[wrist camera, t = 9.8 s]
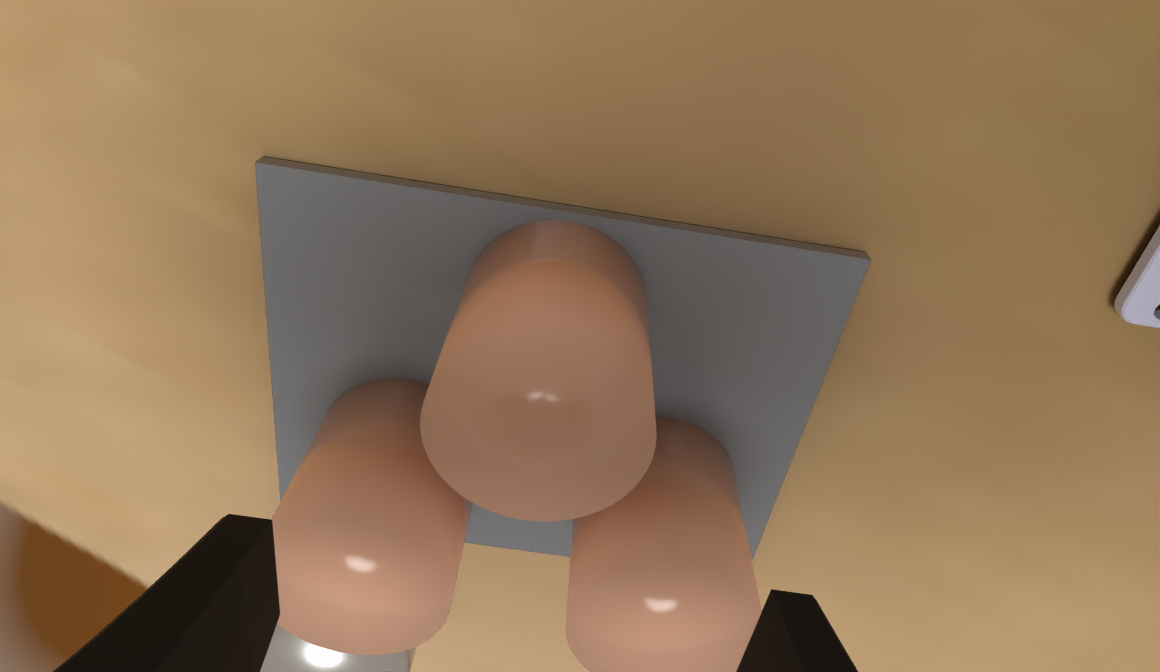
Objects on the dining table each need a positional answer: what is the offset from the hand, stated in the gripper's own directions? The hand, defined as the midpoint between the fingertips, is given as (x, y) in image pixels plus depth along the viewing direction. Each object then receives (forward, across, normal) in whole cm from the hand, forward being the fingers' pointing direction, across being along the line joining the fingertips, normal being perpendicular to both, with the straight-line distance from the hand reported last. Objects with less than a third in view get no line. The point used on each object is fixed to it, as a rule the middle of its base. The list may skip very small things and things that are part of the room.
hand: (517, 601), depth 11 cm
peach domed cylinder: (+9, +4, +5) cm, 11 cm away
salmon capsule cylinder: (+9, -3, +5) cm, 11 cm away
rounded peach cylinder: (+9, 0, 0) cm, 9 cm away
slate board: (+9, 0, +3) cm, 10 cm away
